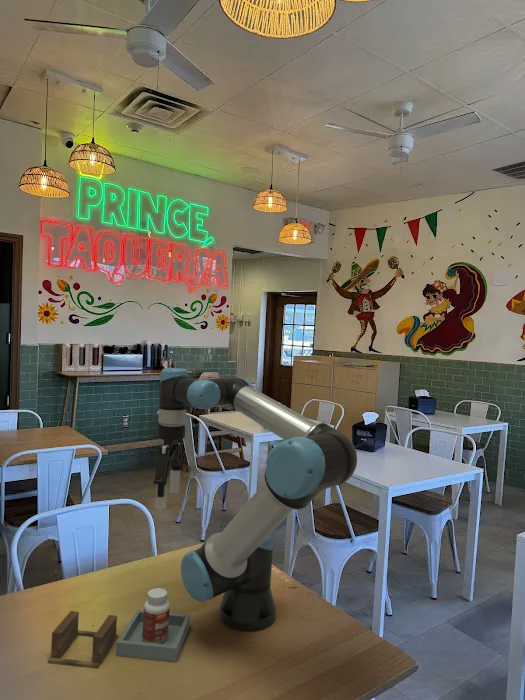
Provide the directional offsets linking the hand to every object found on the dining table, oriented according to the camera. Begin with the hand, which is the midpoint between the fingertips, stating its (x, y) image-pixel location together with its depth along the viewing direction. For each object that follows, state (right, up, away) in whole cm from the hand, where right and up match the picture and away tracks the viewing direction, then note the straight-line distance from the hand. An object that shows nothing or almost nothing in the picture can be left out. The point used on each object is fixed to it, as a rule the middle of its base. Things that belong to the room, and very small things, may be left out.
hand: (167, 500), depth 137 cm
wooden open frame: (-15, -28, -21) cm, 39 cm away
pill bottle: (0, -29, -17) cm, 33 cm away
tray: (0, -29, -17) cm, 33 cm away
